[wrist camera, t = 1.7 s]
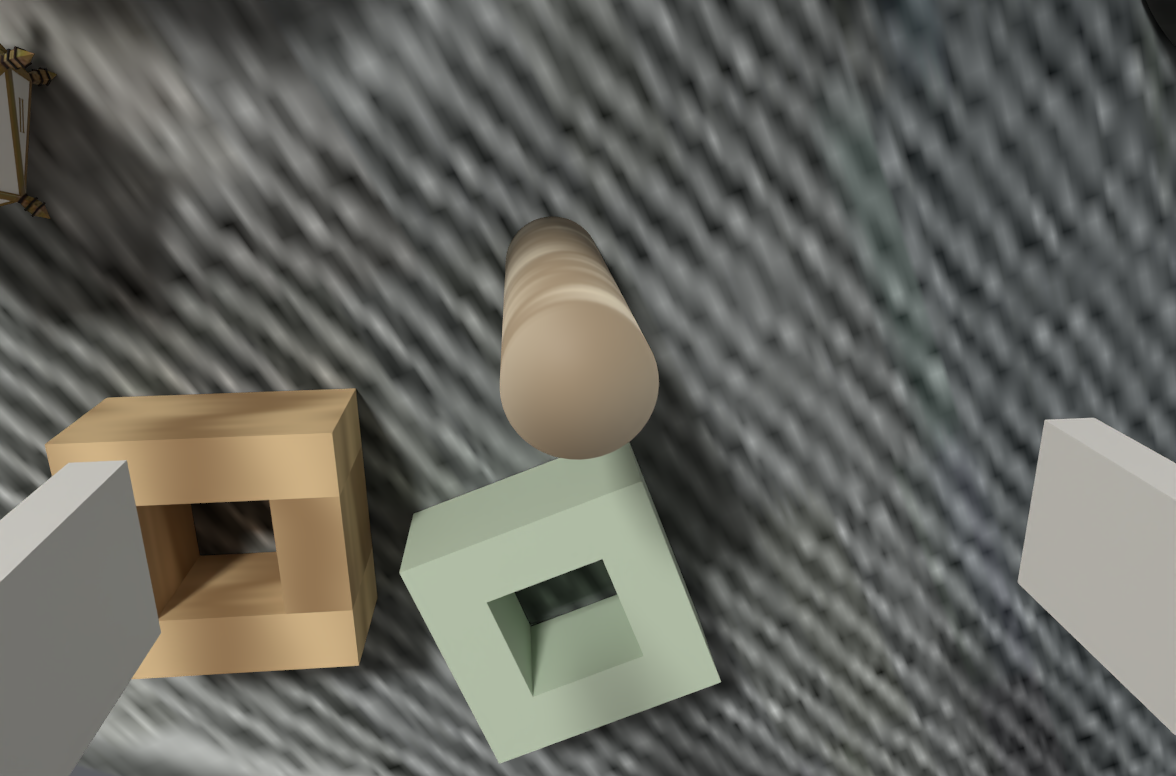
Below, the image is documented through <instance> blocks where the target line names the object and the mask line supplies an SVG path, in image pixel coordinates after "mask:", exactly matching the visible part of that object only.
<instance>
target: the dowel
mask: <svg viewBox="0 0 1176 776" xmlns="http://www.w3.org/2000/svg"><path fill="white" fill-rule="evenodd" d="M658 389H659V375H658V369H657V364H656V361H655V358H654V355H653V353H652V351H651V349H650V347H649V345H648V343H647V341H646V339H645V337H644V335H643V334H642V332H641V330H640V328H639V326H638V324H637V322H636V320H635V318H634V317H633V315H632V313H631V311H630V309H629V307H628V305H627V303H626V301H625V300H624V298H623V296H622V294H621V292H620V290H619V288H618V286H617V284H616V283H615V281H614V279H613V277H612V275H611V273H610V271H609V269H608V267H607V266H606V264H605V262H604V260H603V258H602V256H601V254H600V252H599V250H598V249H597V247H596V245H595V243H594V241H593V239H592V238H591V236H590V235H589V234H588V232H587V231H586V230H585V229H584V228H582V227H581V226H580V225H578V224H577V223H575V222H573V221H571V220H568V219H565V218H561V217H544V218H539V219H537V220H534V221H532V222H530V223H528V224H527V225H525V226H524V227H523V228H521V229H520V230H519V231H518V232H517V234H516V235H515V236H514V238H513V239H512V241H511V243H510V245H509V248H508V251H507V256H506V269H505V289H504V309H503V330H502V350H501V370H500V395H501V401H502V405H503V409H504V411H505V413H506V416H507V418H508V420H509V422H510V423H511V425H512V427H513V428H514V429H515V430H516V432H517V433H518V434H519V435H520V436H521V437H522V438H523V439H524V440H525V441H526V442H528V443H529V444H530V445H532V446H533V447H535V448H536V449H538V450H540V451H542V452H544V453H547V454H549V455H552V456H555V457H559V458H564V459H575V460H582V459H591V458H596V457H600V456H603V455H606V454H609V453H611V452H613V451H615V450H617V449H619V448H621V447H622V446H624V445H625V444H627V443H628V442H630V441H631V440H632V439H633V438H634V437H635V436H636V435H637V434H638V433H639V432H640V431H641V430H642V429H643V427H644V426H645V424H646V423H647V421H648V420H649V418H650V416H651V414H652V412H653V410H654V407H655V404H656V401H657V396H658Z"/></svg>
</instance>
